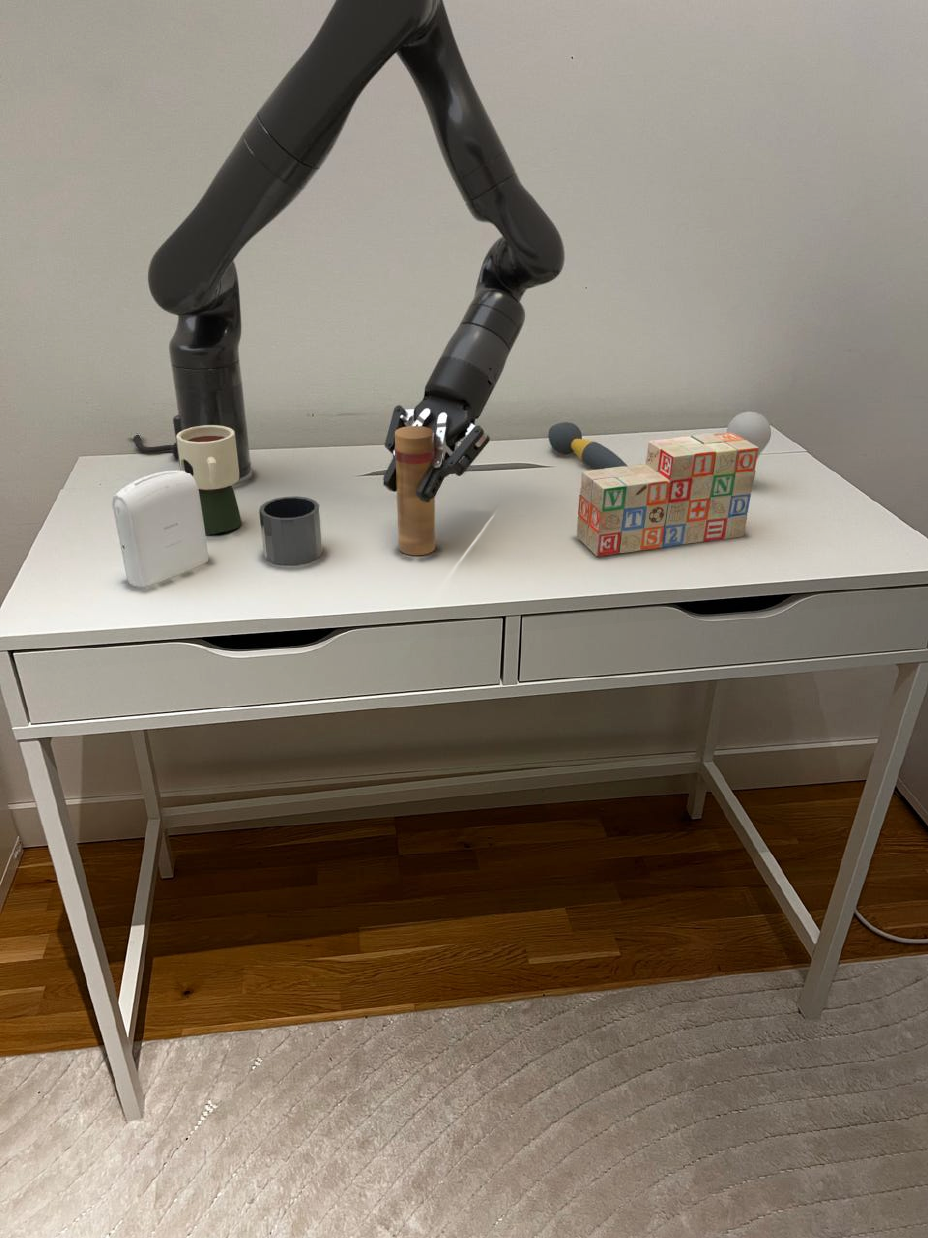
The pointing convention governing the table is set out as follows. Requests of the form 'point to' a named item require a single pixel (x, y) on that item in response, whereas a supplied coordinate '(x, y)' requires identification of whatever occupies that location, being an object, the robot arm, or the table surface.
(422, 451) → the red-banded tan cylinder
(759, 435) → the lightbulb
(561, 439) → the wand massager
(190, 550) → the photo printer
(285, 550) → the cup
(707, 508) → the stack of blocks
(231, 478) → the character mug
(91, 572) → the table surface
